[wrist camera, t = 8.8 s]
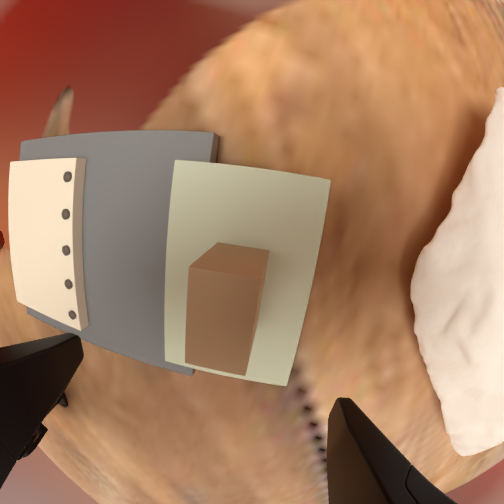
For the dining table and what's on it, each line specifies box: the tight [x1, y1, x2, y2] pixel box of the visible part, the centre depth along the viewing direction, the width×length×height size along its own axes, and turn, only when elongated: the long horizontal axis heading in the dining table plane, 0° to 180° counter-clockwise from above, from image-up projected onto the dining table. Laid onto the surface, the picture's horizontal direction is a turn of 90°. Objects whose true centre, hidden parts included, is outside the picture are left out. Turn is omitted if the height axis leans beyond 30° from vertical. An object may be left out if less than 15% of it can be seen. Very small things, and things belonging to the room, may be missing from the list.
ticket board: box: [8, 130, 220, 376], centre depth 19 cm, size 18×20×3 cm
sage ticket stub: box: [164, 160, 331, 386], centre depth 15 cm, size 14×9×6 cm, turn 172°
